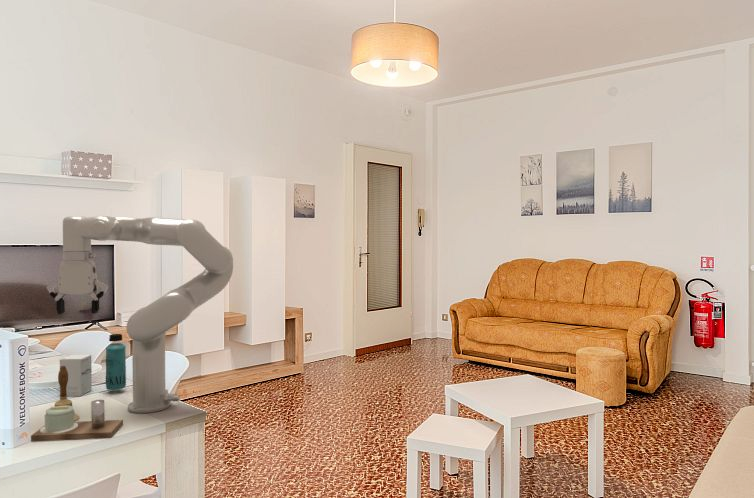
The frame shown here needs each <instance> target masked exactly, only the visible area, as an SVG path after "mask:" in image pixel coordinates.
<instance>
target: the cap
mask: <svg viewBox="0 0 754 498" xmlns="http://www.w3.org/2000/svg"><path fill="white" fill-rule="evenodd" d="M73 409H74V406H73V407H72V406H67V405H65V406H56V407H54V406H50V408H47V409H46V410H45V414H44V426H45V430H47V431H49V432H52V431H62V430H66V429H70V428H71V427H73V426H74V411H75V410H73Z"/></svg>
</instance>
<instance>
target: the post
mask: <svg viewBox="0 0 754 498" xmlns="http://www.w3.org/2000/svg"><path fill="white" fill-rule="evenodd" d="M90 405H91V406H90V408H91V410H90V413H91V420H90V421H92V428H93V429H97V428H102V427H104V426H105V399H96V400H92V401H91V402H90Z"/></svg>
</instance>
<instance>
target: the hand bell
mask: <svg viewBox="0 0 754 498" xmlns="http://www.w3.org/2000/svg"><path fill="white" fill-rule="evenodd" d="M57 376H58V377H57V380H58V385H59V400H57V401H56V402H55V403H54V406H53V407H56V406H65V405H67V406H72V407H73V410H74V406H73V401H72V400H70V399H69V398H68V396H67V391H66V386H67V383H68V372H67V369H66V366H61V367H60V366H59V371H58V374H57ZM79 419H80V415H78V413H76V411H75V410H74V422H78V420H79Z"/></svg>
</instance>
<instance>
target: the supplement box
mask: <svg viewBox="0 0 754 498" xmlns="http://www.w3.org/2000/svg"><path fill="white" fill-rule="evenodd" d="M61 366H66V369H67V372H68V383H67V386H66V391H67V397H82V396H83V395H85V394H86V393H88V392H90V391H92V389H93V388H92V387H93V386H92V385H93V384H92V382H93V381H92V368H93V367H92V354H70V355H68V356H65V357H62V358H60V359H59V368H60V367H61Z"/></svg>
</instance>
